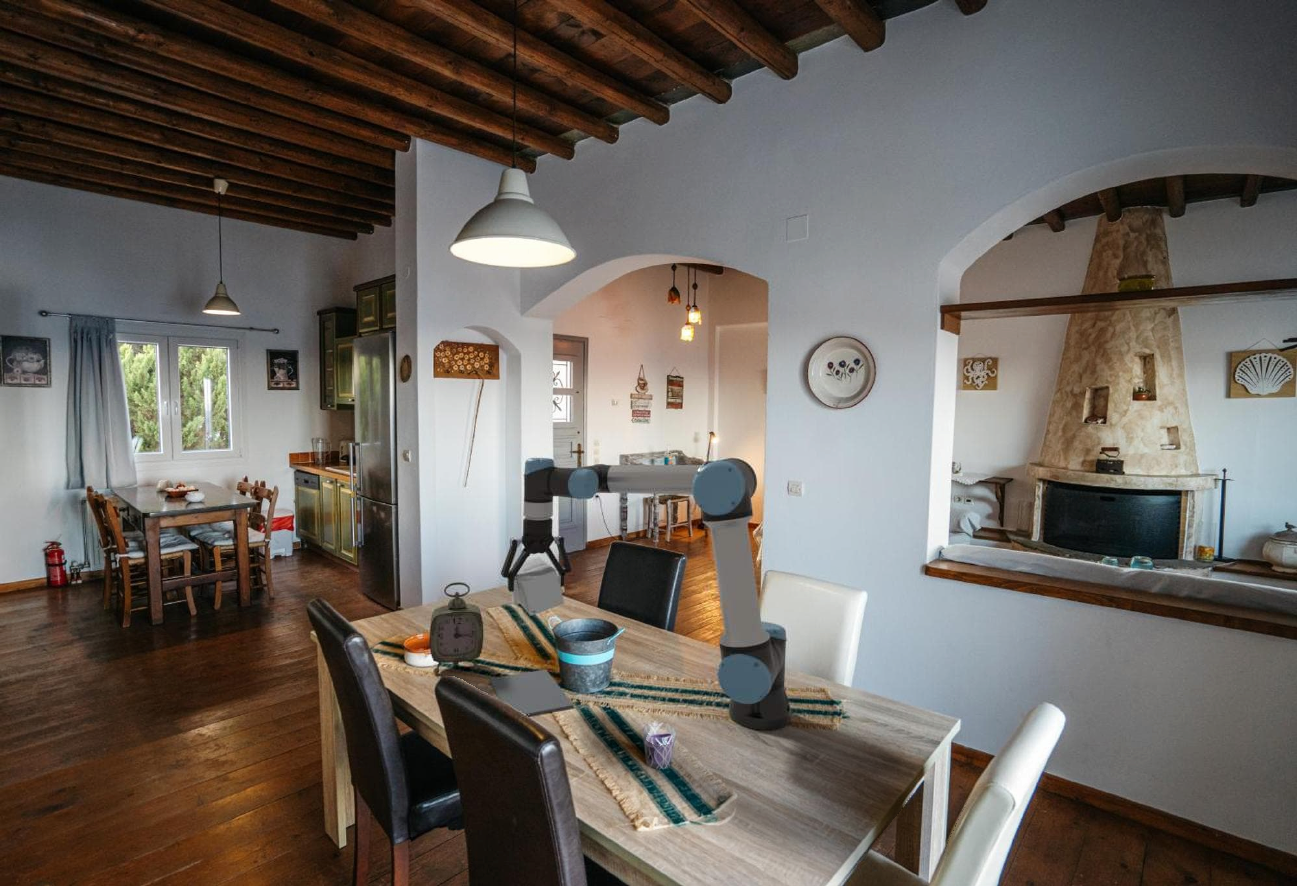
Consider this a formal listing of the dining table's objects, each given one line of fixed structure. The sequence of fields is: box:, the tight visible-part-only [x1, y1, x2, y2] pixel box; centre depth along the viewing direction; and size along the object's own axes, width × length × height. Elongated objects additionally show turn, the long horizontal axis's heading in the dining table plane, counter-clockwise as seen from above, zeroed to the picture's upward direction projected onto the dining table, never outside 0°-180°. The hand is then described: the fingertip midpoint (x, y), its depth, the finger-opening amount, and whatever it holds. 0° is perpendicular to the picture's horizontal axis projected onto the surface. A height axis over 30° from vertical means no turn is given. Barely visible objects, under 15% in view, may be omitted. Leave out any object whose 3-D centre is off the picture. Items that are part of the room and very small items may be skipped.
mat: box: [489, 669, 574, 717], centre depth 167 cm, size 24×16×1 cm, turn 26°
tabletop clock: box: [429, 581, 485, 675], centre depth 181 cm, size 14×9×25 cm, turn 108°
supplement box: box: [509, 556, 565, 617], centre depth 166 cm, size 10×9×17 cm
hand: (535, 601), depth 165 cm, fingers closed on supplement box, 11 cm apart
